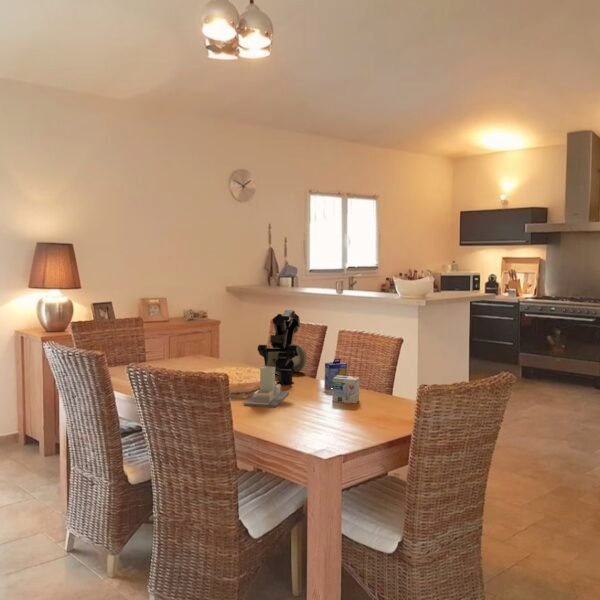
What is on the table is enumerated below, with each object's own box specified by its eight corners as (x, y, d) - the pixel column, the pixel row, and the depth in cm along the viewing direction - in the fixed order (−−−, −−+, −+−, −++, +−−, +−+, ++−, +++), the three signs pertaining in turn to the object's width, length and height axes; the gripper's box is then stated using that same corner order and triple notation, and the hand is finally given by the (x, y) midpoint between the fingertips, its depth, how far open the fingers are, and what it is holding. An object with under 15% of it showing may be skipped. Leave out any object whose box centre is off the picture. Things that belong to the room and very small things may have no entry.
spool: (283, 377, 331) (283, 348, 329) (265, 372, 341) (265, 345, 340) (306, 373, 342) (306, 345, 341) (287, 369, 353) (287, 342, 352)
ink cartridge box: (328, 389, 302) (329, 359, 301) (323, 387, 307) (324, 358, 306) (347, 388, 306) (347, 358, 305) (341, 385, 311) (342, 356, 310)
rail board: (259, 392, 295) (259, 381, 295) (289, 393, 293) (289, 382, 292) (244, 405, 270) (244, 393, 269) (276, 407, 267) (276, 395, 267)
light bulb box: (331, 401, 279) (332, 377, 278) (336, 398, 285) (337, 374, 284) (355, 404, 275) (355, 379, 274) (359, 400, 281) (360, 376, 280)
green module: (263, 394, 284) (263, 366, 283) (274, 395, 283) (275, 366, 282) (260, 397, 279) (260, 368, 278) (272, 397, 278) (272, 368, 277)
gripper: (257, 327, 295) (251, 355, 286) (296, 327, 291) (291, 356, 282) (263, 341, 304) (257, 368, 294) (300, 341, 300) (296, 369, 290)
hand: (275, 365), depth 290 cm, fingers open, 9 cm apart
